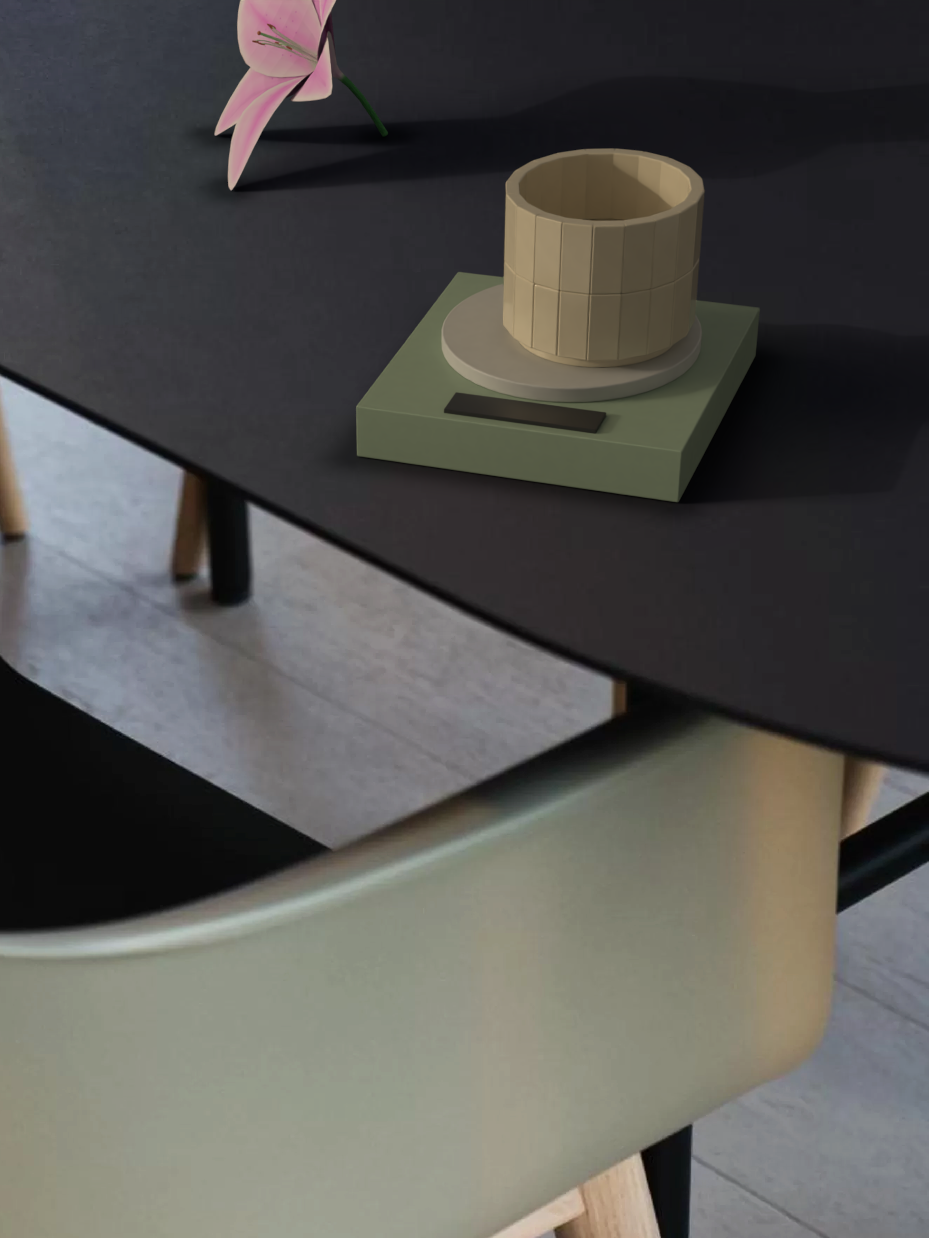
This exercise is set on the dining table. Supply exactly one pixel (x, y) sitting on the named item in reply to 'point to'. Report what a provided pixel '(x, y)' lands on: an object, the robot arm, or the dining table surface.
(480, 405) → the scale
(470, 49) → the dining table surface
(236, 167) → the lily
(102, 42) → the dining table surface
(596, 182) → the tan faceted cup
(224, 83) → the dining table surface
